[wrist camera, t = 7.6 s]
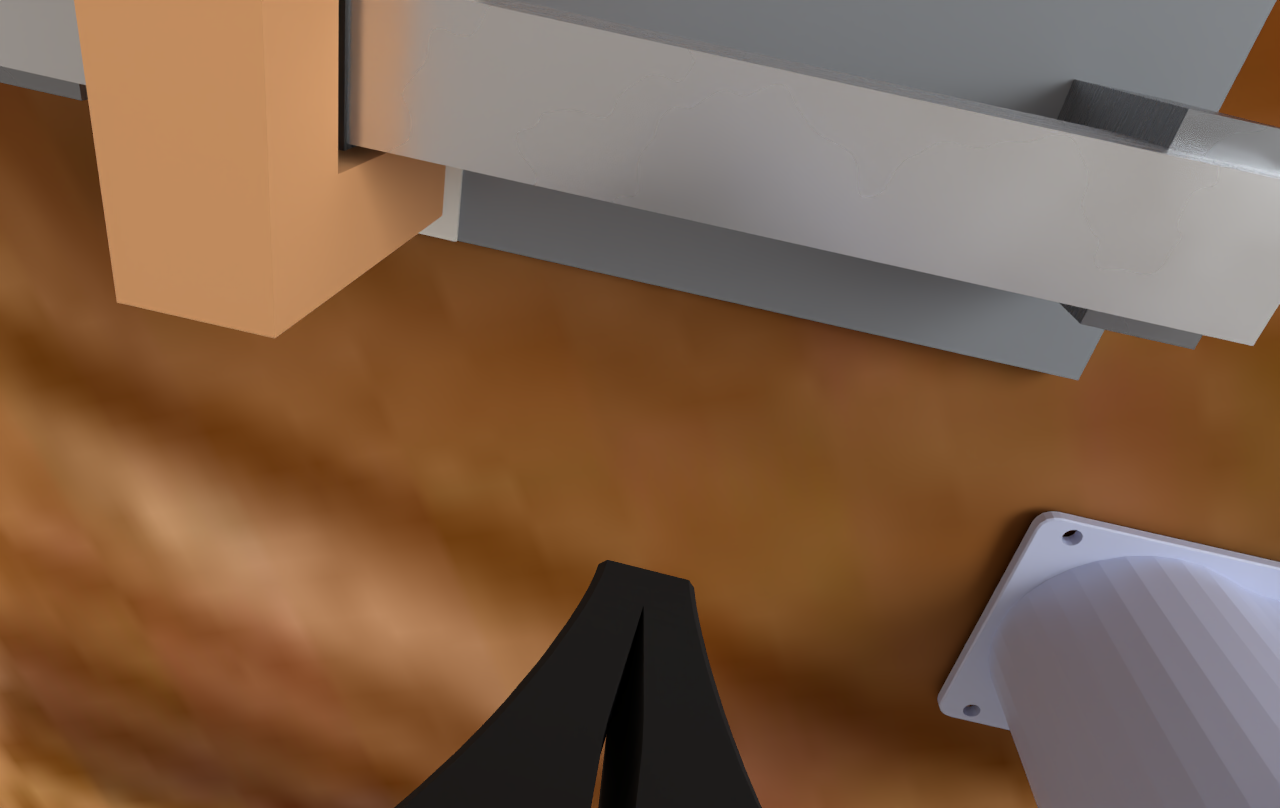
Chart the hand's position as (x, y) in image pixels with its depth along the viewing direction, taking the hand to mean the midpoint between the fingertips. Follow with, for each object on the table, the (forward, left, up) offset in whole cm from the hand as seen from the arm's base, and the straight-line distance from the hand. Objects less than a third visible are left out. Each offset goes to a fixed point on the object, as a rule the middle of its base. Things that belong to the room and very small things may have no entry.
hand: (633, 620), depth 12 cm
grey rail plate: (+3, -6, -10) cm, 12 cm away
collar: (+7, -6, -8) cm, 13 cm away
